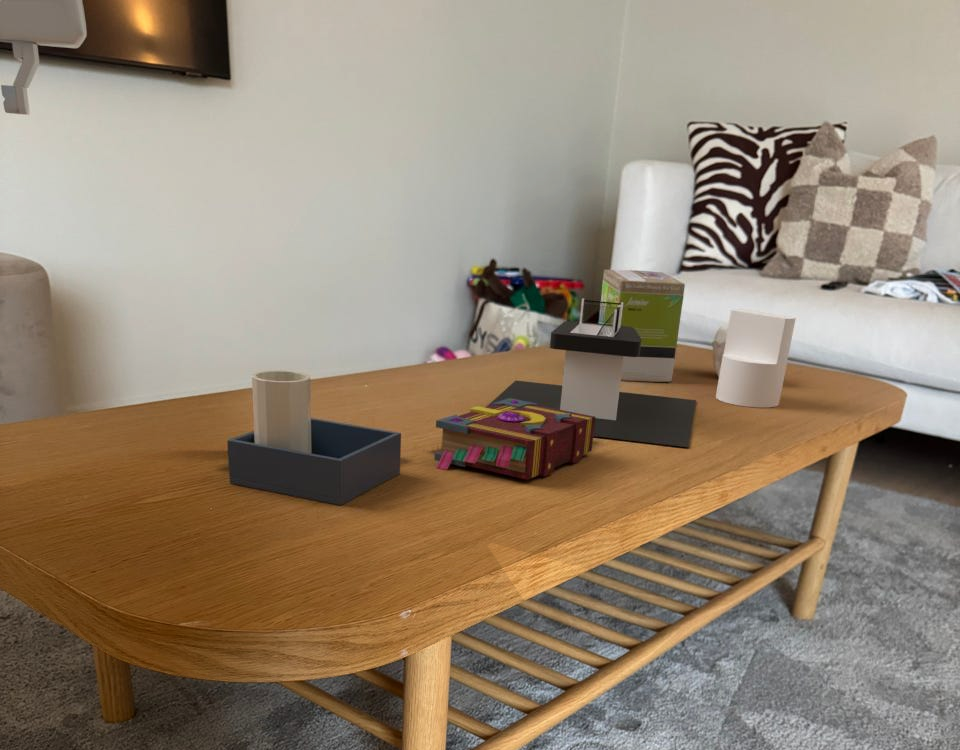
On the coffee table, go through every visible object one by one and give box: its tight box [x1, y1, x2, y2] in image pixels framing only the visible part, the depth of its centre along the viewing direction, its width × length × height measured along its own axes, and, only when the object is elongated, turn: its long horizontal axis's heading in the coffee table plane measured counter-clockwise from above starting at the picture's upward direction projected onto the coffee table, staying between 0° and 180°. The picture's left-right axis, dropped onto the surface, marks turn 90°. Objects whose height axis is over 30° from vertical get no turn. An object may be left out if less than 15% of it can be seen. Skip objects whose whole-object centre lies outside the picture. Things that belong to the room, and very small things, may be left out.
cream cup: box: [251, 369, 312, 453], centre depth 89 cm, size 5×5×9 cm
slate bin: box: [227, 417, 402, 506], centre depth 91 cm, size 12×12×4 cm
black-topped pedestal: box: [486, 298, 697, 448], centre depth 123 cm, size 28×26×13 cm
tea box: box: [598, 269, 686, 383], centre depth 150 cm, size 15×10×15 cm, turn 3°
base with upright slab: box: [715, 308, 797, 409], centre depth 136 cm, size 9×9×12 cm
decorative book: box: [434, 398, 595, 481], centre depth 101 cm, size 11×16×5 cm
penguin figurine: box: [711, 320, 729, 378], centre depth 152 cm, size 6×8×12 cm
